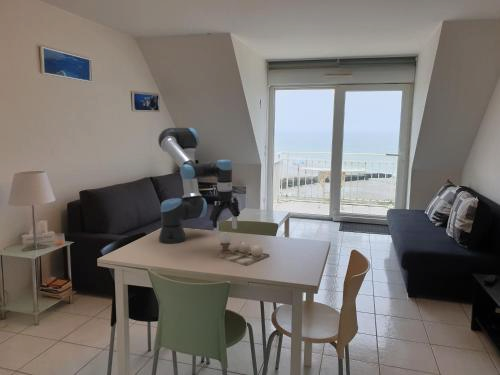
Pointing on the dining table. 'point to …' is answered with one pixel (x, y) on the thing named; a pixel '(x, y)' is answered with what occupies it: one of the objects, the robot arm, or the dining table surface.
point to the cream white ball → (256, 250)
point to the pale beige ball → (243, 247)
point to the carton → (243, 257)
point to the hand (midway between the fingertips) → (225, 231)
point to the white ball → (225, 238)
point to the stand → (225, 247)
